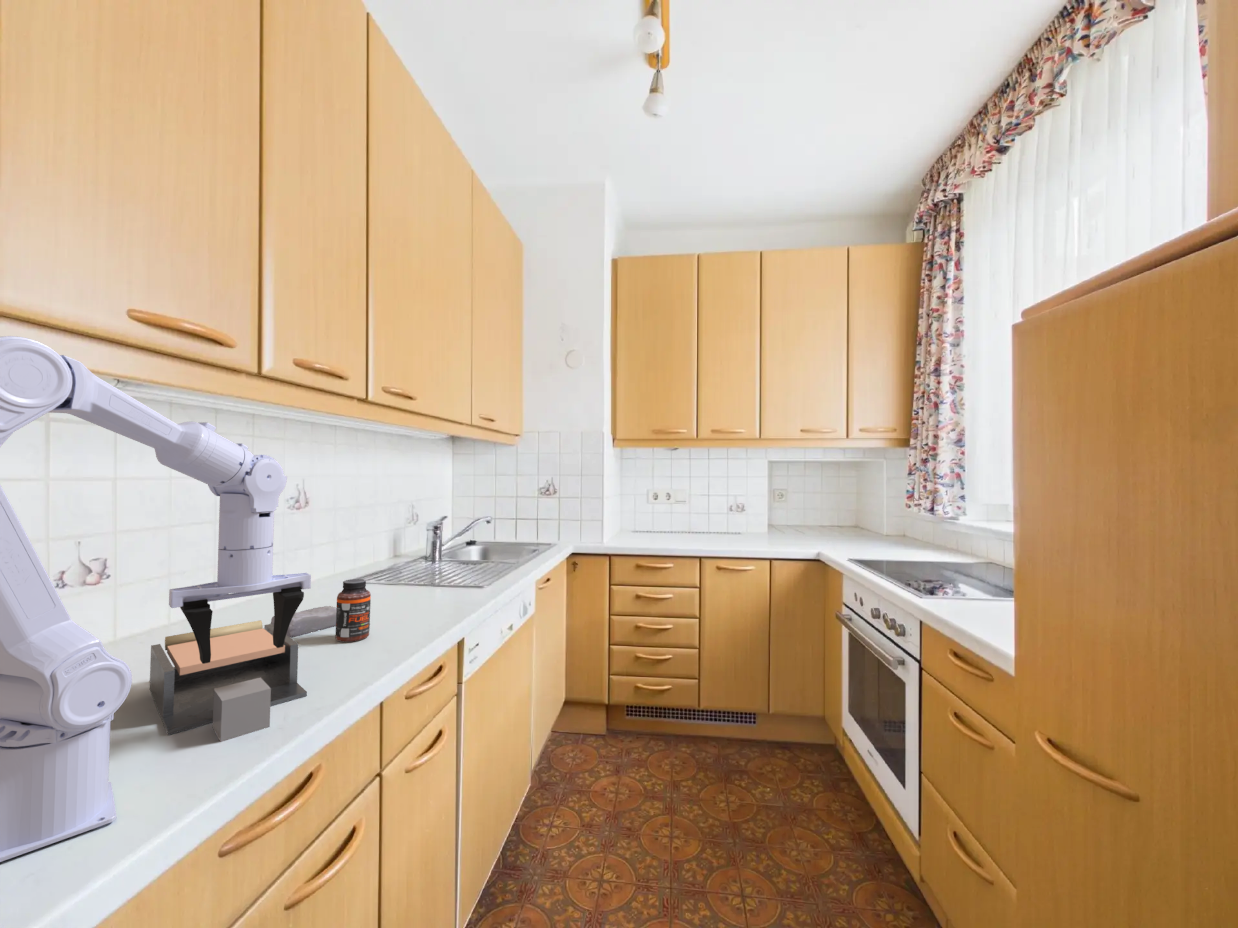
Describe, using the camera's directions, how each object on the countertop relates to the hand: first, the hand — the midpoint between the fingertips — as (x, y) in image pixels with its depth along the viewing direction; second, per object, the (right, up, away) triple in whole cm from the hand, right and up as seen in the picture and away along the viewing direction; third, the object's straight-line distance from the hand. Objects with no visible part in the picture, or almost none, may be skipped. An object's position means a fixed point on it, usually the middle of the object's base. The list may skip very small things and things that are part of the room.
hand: (243, 653), depth 64 cm
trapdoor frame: (-9, -9, +10) cm, 16 cm away
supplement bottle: (-4, -10, +34) cm, 36 cm away
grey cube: (0, -10, 0) cm, 10 cm away
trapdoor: (-11, -4, +11) cm, 17 cm away
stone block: (-17, -11, +41) cm, 46 cm away
